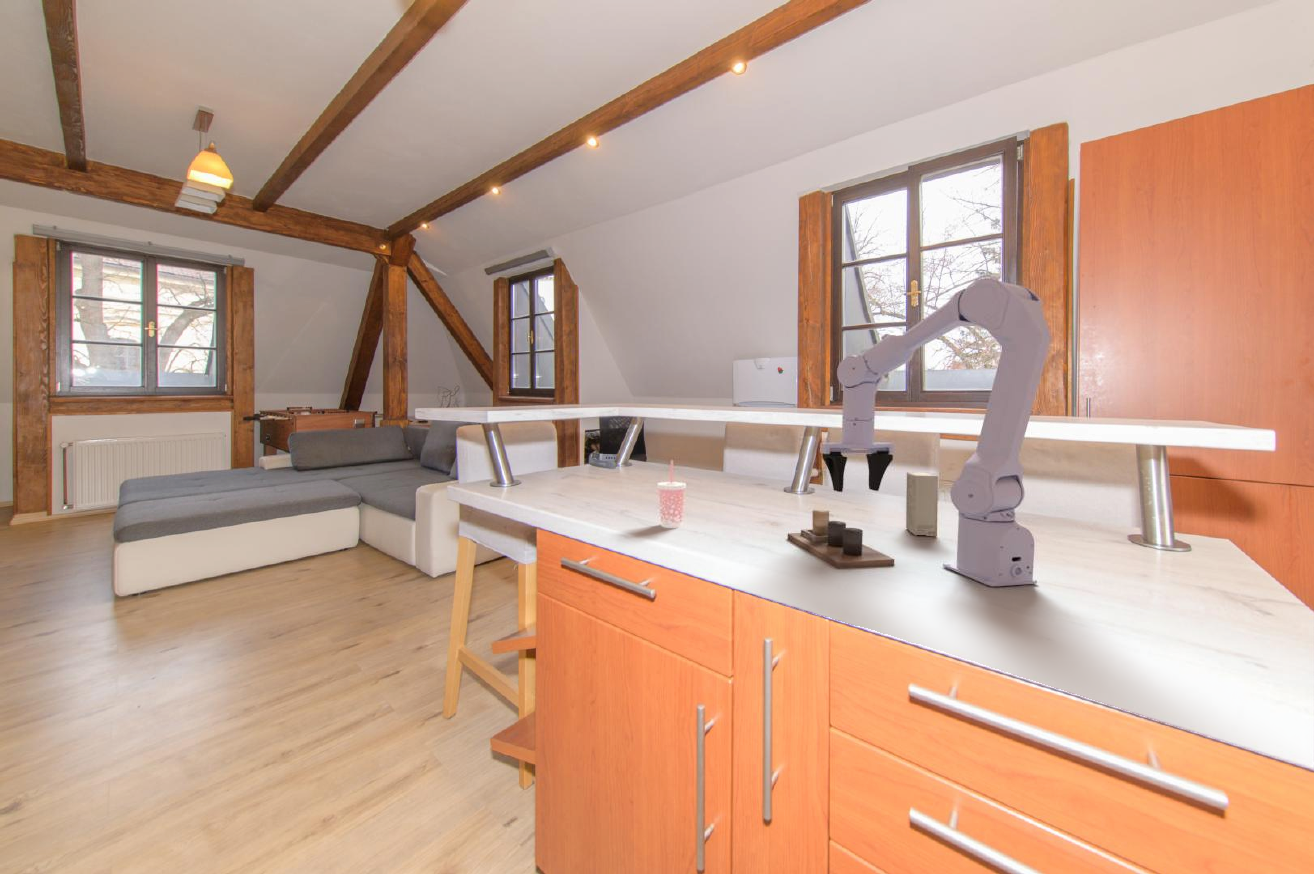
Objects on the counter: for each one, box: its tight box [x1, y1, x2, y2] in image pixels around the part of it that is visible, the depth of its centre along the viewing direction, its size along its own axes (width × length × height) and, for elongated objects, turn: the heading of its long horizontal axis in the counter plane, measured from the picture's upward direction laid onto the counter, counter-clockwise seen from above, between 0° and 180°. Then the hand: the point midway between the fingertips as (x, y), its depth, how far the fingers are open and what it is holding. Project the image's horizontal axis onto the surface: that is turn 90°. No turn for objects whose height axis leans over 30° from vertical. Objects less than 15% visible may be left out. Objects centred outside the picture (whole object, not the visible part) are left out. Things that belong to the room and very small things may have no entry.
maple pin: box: [812, 508, 830, 536], centre depth 93 cm, size 3×3×5 cm
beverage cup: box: [656, 459, 687, 529], centre depth 106 cm, size 6×6×14 cm
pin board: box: [787, 520, 895, 569], centre depth 88 cm, size 18×10×5 cm, turn 11°
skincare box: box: [905, 471, 939, 537], centre depth 101 cm, size 6×4×12 cm
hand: (856, 490), depth 96 cm, fingers open, 7 cm apart
